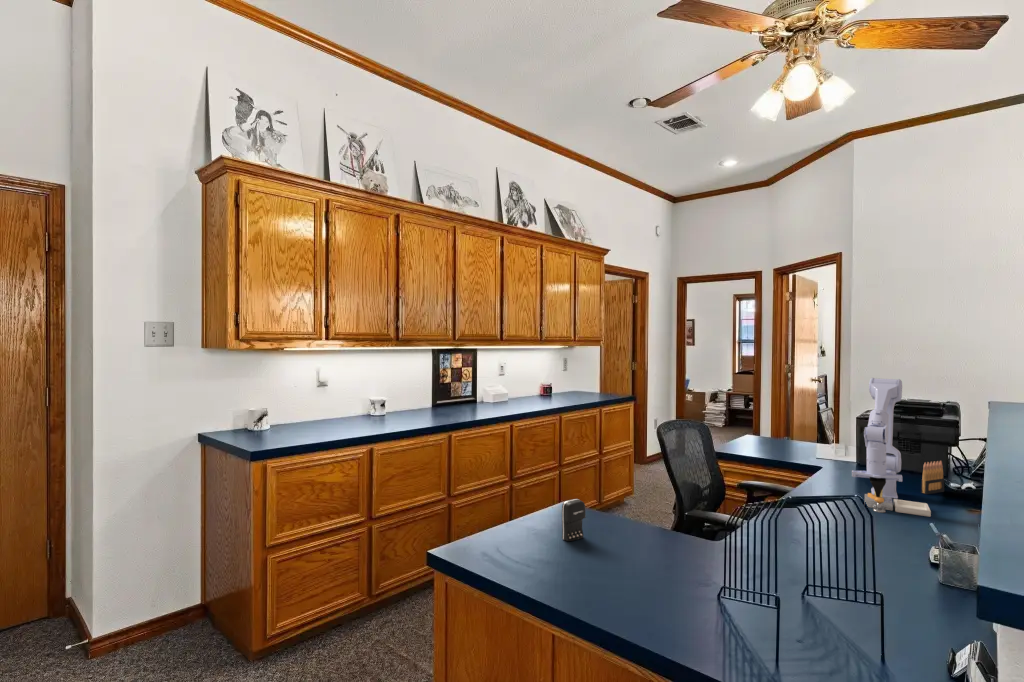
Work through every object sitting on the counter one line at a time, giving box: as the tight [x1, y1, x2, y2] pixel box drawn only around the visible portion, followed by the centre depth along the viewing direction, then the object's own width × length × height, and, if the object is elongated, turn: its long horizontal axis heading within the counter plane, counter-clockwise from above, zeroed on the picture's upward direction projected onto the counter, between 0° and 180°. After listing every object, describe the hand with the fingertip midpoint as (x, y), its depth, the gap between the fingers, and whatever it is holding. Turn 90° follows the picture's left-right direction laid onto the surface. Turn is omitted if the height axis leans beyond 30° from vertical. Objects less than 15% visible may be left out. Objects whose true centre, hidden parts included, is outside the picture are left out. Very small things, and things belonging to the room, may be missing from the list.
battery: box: [561, 498, 587, 542], centre depth 161 cm, size 7×4×11 cm, turn 123°
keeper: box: [867, 492, 884, 502], centre depth 188 cm, size 7×3×1 cm, turn 0°
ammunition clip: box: [920, 460, 945, 495], centre depth 208 cm, size 11×2×12 cm, turn 110°
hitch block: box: [864, 493, 894, 514], centre depth 190 cm, size 13×8×3 cm, turn 148°
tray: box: [892, 498, 932, 517], centre depth 187 cm, size 10×10×2 cm
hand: (876, 499), depth 189 cm, fingers closed, pressing on keeper
